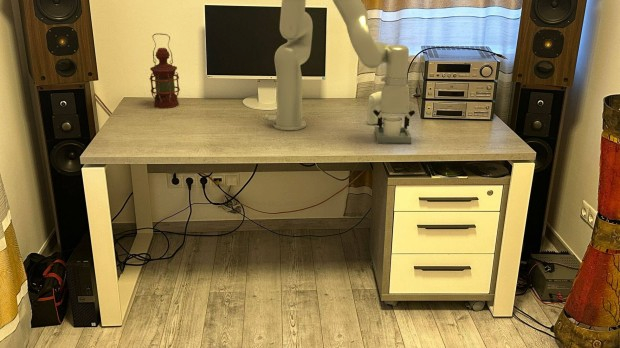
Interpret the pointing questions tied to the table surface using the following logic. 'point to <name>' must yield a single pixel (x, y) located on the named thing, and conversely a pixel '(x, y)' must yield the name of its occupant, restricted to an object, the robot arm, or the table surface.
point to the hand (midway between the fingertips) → (392, 127)
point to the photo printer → (370, 114)
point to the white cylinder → (392, 125)
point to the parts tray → (393, 137)
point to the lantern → (164, 80)
